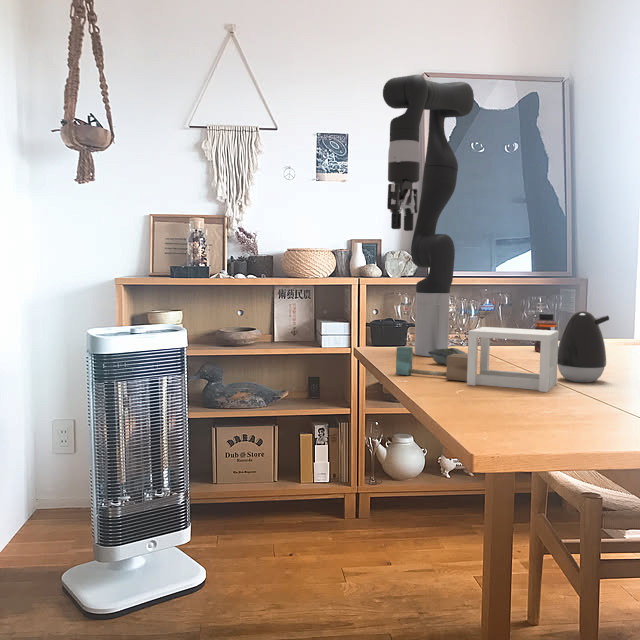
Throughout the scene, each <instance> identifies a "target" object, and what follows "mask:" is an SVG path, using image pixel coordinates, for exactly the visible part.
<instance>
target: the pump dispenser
mask: <svg viewBox="0 0 640 640" xmlns="http://www.w3.org/2000/svg"><path fill="white" fill-rule="evenodd" d="M608 321H610V316H609V315H605V316H604V315H603V316H601V317H600V316H599V317H595V316H594V315H593V314H592V313H591V312H588V311H586V310H581V311H577V312H575V313H573V314H572V315H571V316H570V317H569V319H568V321H567V323H566V324H565V326H564V329H563V331H562V333H561V336H560V340H559V341H558V362H557V370H558V371H559V374H560V375H561V376H562V377H563V378H564V379H565V380H567V381H570V382H575V383H593V382H595V381H597V380H598V379H600V378H601V376H602V375H603V373H604V371H605V367H606V366H607V353H606V345H605V340H604V336H603V333H602V330H601V328H600V324H602V323H606V322H608Z"/></svg>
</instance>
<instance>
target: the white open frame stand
mask: <svg viewBox="0 0 640 640" xmlns="http://www.w3.org/2000/svg"><path fill="white" fill-rule="evenodd" d="M559 332H560V330H556V331H553V330H535V329H533V328H532V329H531V328H530V329H529V328H528V329H527V328H514V327H513V328H511V327H493V326H481V327H477V328H473V329H471V330H468V331H467V333H468V339H467V354H468V365H467V381H466V385H467V386H476V385H477V386H478V385H481V386H488V387H489V386H491V387H499V388H500V387H501V388H513V389H524V390H535V391H538V392H542V393H543V392H544V393H548V392H549V391H551V389H552V388H553V387H554V386H555V385H556V384H558V382H557V381H558V364H557V362H558V346H559V337H560V335H559ZM479 338H480V348H479V349H480V353H479V356H480V358H479V359H480V360H479V374H478V352H479V350H478V347H479ZM491 339H500V340H519V341H534V342H535V341H541V347H540V352H539V372H538V373H534V372H533V373H532V372H523V371H521V372H520V371H510V370H509V371H508V370H496V369H490V350H491V349H490V345H491V344H490V343H491Z"/></svg>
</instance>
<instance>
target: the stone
mask: <svg viewBox="0 0 640 640" xmlns="http://www.w3.org/2000/svg"><path fill="white" fill-rule="evenodd" d="M428 353H429V354H430V355H431V356H430V357H432V359H433V361H434V362H435V363H436V364H439V365H440V364H441V365H446V366H447V356H449V355H452V354H463V355H468V353H466V352H464V351H462V350H461V349H458V348H455V347H450V348H449V347H448V348H447V349H435V350H432V351H429V352H428Z"/></svg>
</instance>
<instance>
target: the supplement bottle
mask: <svg viewBox="0 0 640 640" xmlns="http://www.w3.org/2000/svg"><path fill="white" fill-rule="evenodd" d="M538 318H539V319H538V320H536V321H535V325H534V328H535V329H534V330H553V331H557V328H558V327H557V325H558V324H557V322H556V320H555V319H554V313H552V312H539V315H538ZM540 347H541V341H534V351H535V352H537V351H538V353H540Z"/></svg>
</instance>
